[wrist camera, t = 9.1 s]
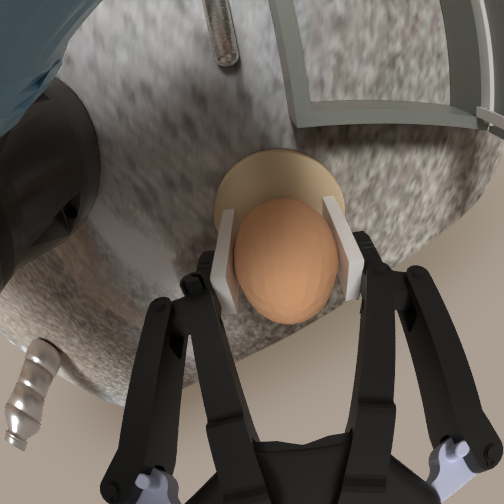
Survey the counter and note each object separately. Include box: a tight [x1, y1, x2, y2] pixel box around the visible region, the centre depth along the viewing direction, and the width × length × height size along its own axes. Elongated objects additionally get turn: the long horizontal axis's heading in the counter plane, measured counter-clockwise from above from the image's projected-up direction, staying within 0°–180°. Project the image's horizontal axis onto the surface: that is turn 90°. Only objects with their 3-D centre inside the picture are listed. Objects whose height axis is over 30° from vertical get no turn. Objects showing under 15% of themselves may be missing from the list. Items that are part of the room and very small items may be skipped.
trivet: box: [213, 148, 345, 234], centre depth 19 cm, size 9×9×1 cm
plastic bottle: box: [5, 339, 61, 451], centre depth 27 cm, size 6×7×20 cm
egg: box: [234, 198, 339, 325], centre depth 15 cm, size 6×6×8 cm
